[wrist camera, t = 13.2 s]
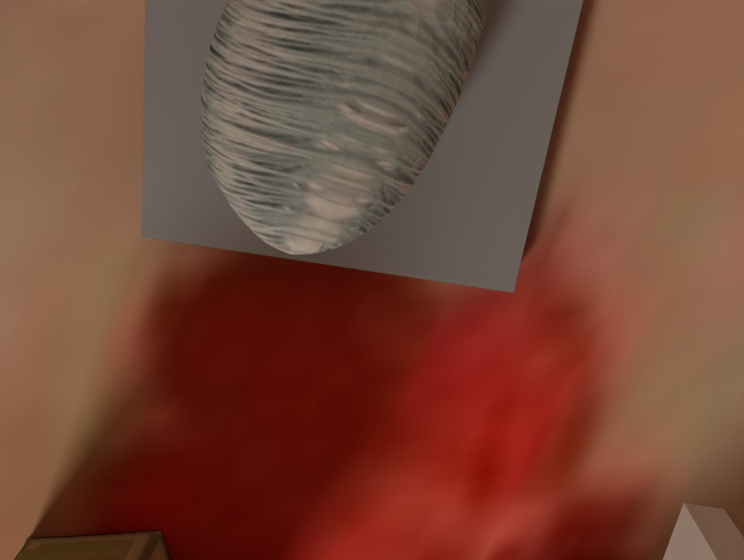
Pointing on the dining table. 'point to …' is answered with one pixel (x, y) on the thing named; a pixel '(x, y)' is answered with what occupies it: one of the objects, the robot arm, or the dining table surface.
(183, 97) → the plate
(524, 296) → the dining table surface
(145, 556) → the food packaging
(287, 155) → the spool
